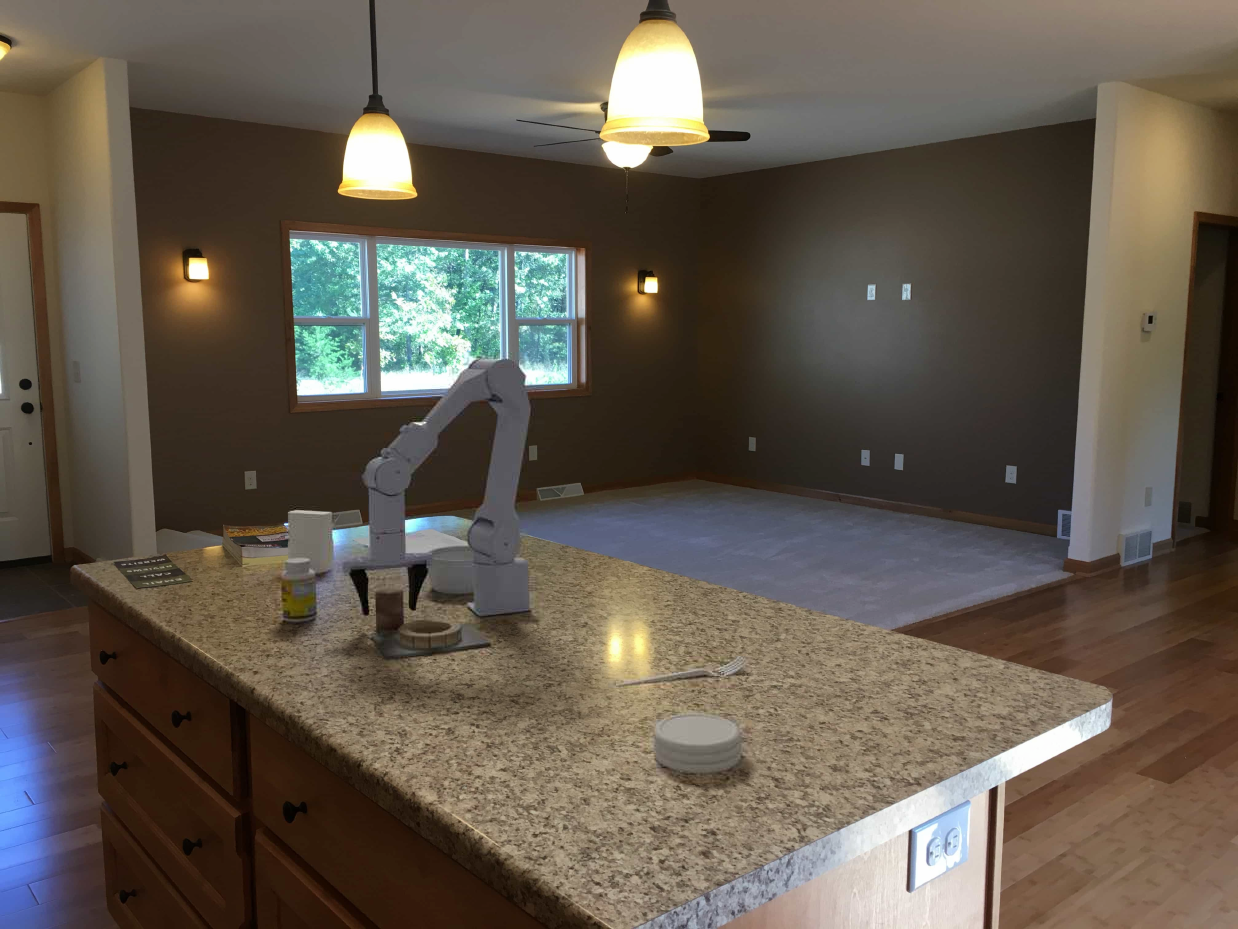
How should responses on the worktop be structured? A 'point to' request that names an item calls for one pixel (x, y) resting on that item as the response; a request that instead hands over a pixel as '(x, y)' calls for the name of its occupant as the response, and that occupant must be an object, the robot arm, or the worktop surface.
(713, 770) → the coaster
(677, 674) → the fork
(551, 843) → the worktop surface
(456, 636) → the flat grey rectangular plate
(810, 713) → the worktop surface
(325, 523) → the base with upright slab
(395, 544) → the robot arm
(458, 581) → the ramekin
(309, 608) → the supplement bottle
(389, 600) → the walnut peg
